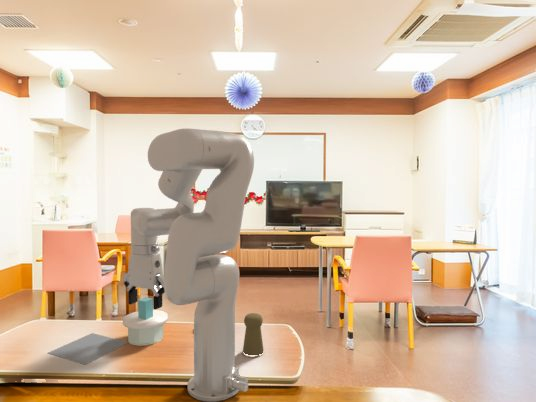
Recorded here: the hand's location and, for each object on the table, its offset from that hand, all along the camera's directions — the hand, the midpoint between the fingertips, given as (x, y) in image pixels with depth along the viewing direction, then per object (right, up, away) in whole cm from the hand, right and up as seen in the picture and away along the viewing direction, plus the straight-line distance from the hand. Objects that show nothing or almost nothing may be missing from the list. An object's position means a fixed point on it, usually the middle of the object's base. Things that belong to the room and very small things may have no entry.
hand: (145, 305), depth 118 cm
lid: (0, -5, 0) cm, 5 cm away
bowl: (0, -11, +1) cm, 11 cm away
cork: (+33, -12, -7) cm, 35 cm away
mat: (-14, -11, -6) cm, 19 cm away
